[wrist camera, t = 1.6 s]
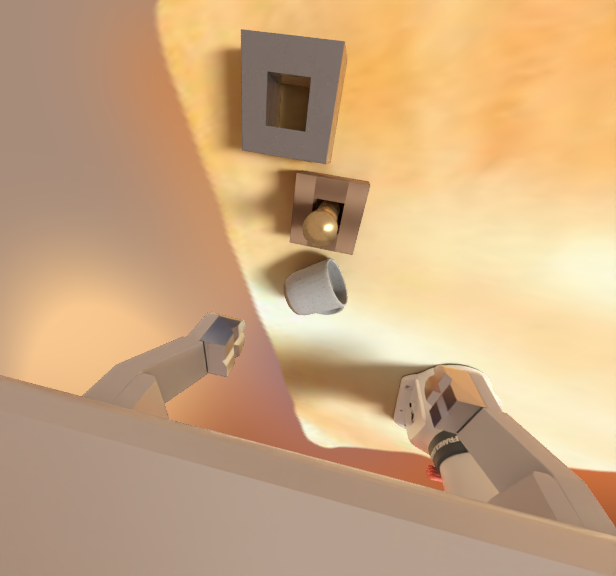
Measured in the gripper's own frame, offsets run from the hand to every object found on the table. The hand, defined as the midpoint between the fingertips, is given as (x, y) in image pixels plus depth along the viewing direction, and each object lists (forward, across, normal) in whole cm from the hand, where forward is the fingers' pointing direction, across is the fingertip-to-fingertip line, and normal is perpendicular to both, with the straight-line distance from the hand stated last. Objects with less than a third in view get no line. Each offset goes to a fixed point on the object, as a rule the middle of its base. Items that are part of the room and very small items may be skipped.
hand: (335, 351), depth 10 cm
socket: (+28, +9, -10) cm, 31 cm away
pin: (+28, +3, +1) cm, 28 cm away
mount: (+28, +3, +1) cm, 28 cm away
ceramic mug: (+28, +1, +13) cm, 31 cm away
